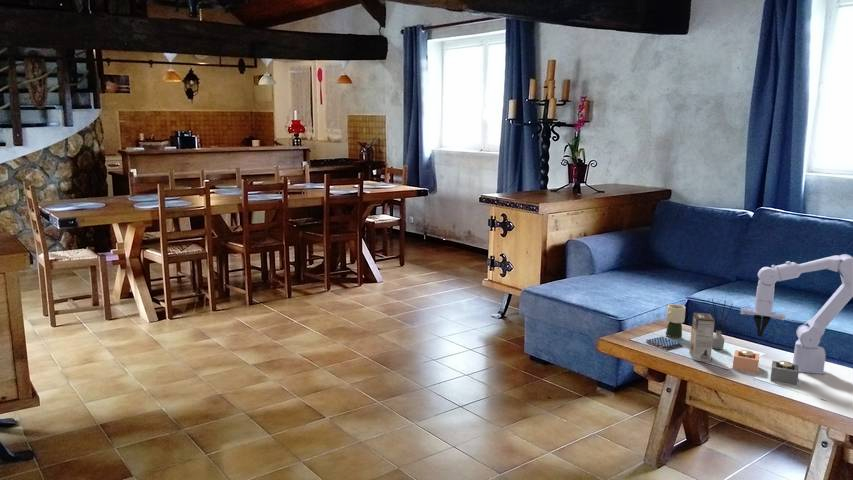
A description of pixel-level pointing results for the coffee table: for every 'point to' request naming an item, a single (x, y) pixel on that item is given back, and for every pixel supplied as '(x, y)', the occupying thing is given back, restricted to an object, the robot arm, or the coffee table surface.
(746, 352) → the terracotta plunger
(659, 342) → the woven mat
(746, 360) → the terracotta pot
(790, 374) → the dark grey square socket
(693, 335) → the coffee box
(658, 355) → the coffee table surface
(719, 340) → the reed diffuser
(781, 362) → the beige knobbed plunger
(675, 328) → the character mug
